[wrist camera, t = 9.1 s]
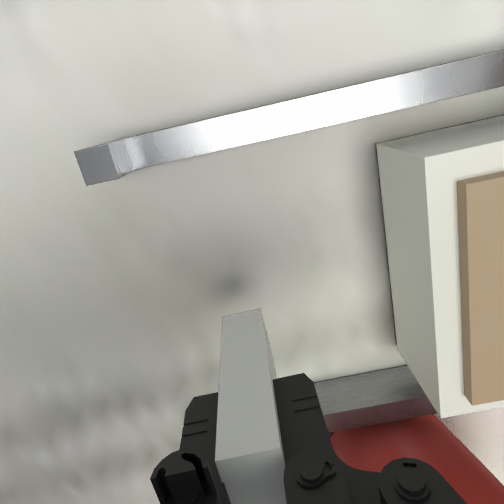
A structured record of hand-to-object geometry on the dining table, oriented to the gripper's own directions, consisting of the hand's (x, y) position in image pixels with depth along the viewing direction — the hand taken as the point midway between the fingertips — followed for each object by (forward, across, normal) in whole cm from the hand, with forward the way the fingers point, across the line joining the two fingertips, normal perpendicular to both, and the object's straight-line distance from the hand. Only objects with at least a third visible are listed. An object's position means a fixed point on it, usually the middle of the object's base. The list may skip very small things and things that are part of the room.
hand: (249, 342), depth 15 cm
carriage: (+5, +11, 0) cm, 12 cm away
